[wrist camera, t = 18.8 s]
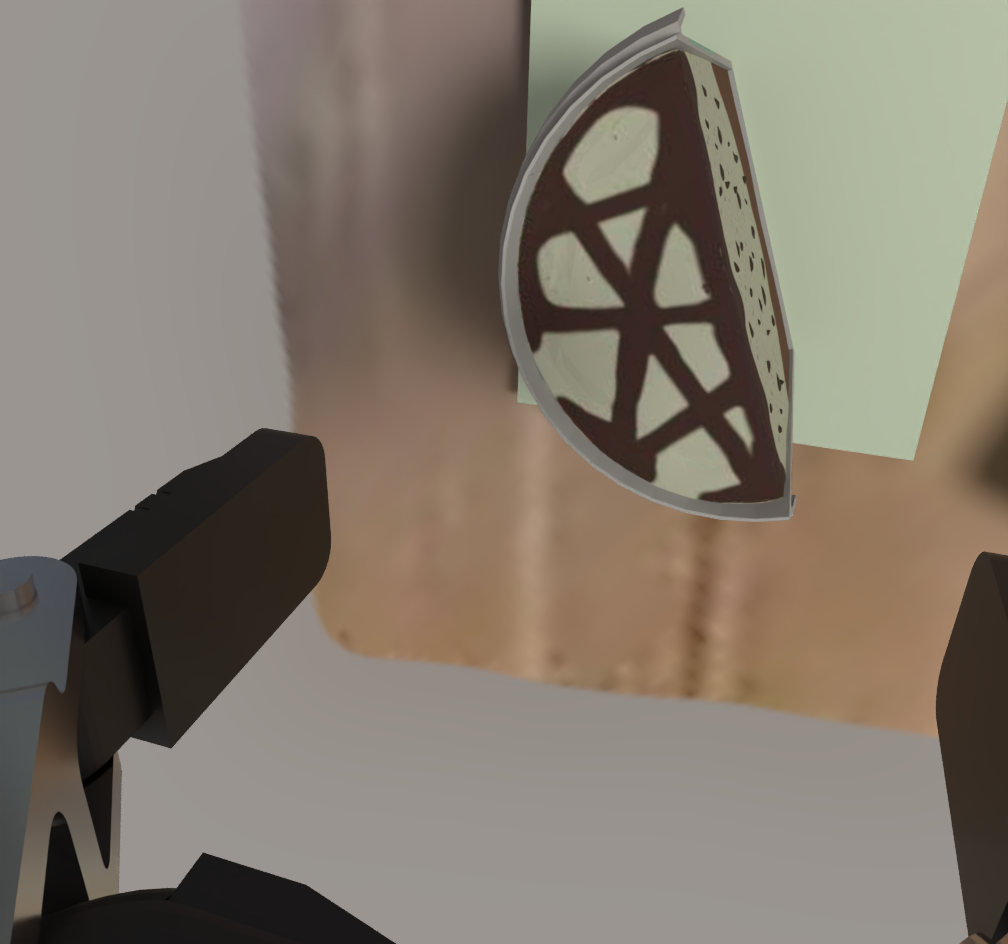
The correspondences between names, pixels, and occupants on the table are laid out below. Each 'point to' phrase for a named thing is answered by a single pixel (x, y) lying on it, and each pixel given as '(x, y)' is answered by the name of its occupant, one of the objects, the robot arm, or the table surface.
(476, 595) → the table surface
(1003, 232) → the table surface
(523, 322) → the food container
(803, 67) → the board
